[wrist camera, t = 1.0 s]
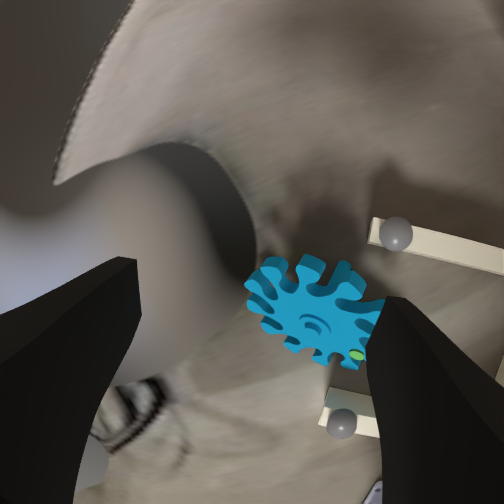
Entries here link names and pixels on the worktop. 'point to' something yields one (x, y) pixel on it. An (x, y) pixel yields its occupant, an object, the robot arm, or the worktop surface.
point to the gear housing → (420, 243)
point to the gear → (315, 309)
